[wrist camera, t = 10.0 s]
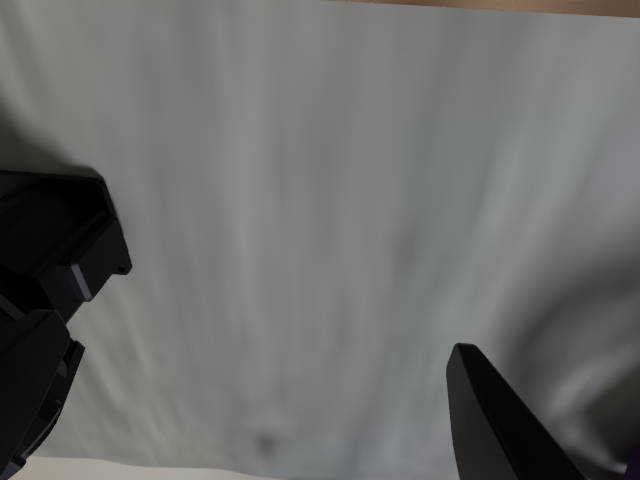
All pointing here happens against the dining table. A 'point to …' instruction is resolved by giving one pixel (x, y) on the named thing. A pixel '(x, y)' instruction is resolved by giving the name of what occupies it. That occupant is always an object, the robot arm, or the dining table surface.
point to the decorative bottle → (633, 466)
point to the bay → (533, 5)
